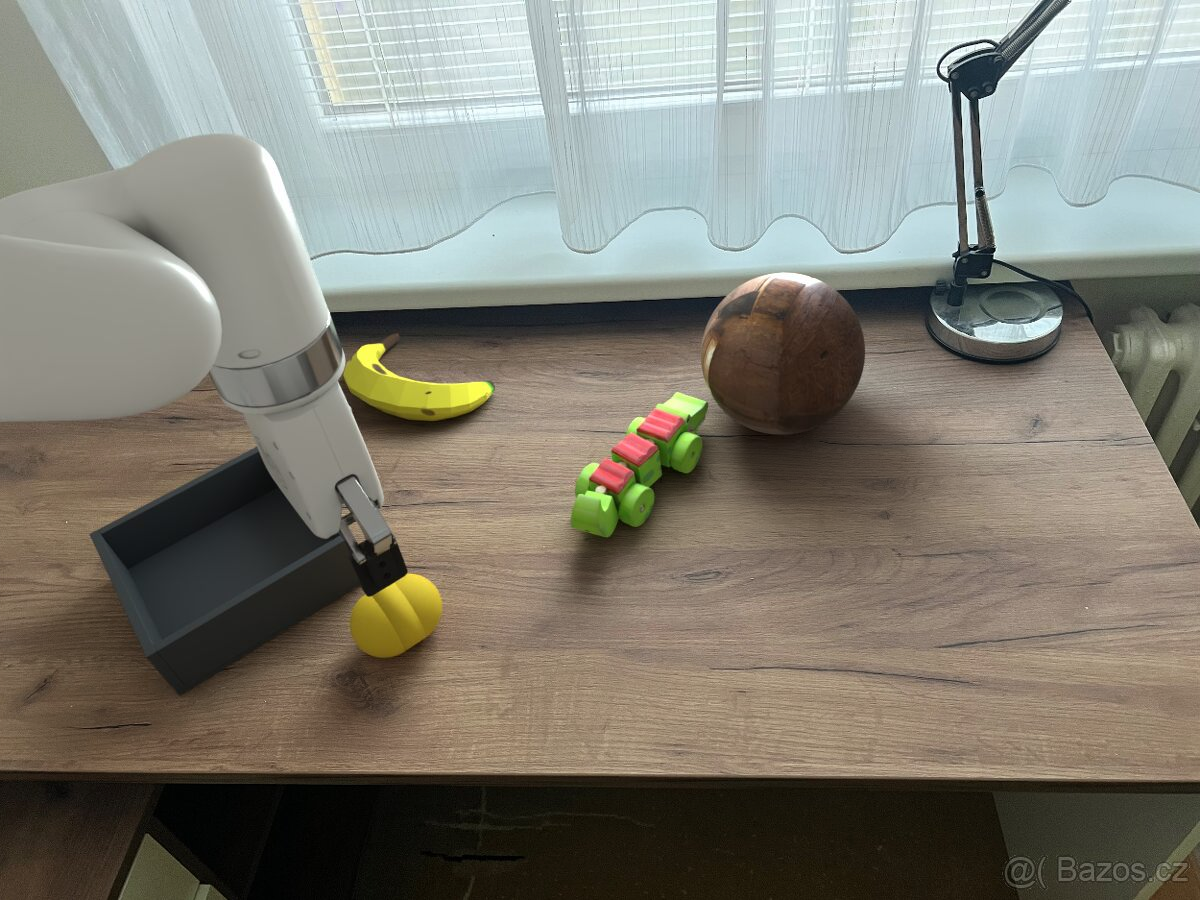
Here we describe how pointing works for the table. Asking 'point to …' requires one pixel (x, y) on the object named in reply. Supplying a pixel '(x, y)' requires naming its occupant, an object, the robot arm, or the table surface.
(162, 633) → the crate
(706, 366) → the wooden sphere
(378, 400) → the banana
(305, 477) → the robot arm
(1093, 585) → the table surface
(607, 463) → the toy crocodile
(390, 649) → the yellow rounded tiered object
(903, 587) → the table surface
